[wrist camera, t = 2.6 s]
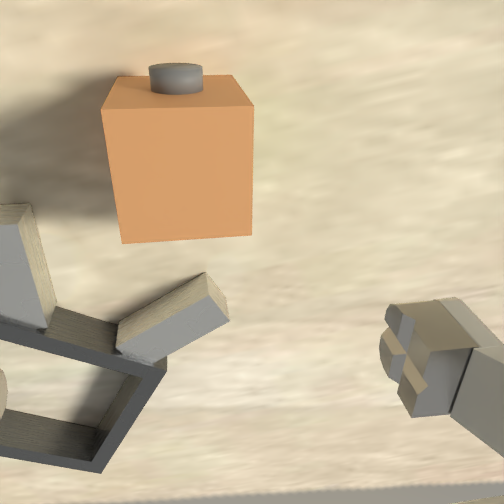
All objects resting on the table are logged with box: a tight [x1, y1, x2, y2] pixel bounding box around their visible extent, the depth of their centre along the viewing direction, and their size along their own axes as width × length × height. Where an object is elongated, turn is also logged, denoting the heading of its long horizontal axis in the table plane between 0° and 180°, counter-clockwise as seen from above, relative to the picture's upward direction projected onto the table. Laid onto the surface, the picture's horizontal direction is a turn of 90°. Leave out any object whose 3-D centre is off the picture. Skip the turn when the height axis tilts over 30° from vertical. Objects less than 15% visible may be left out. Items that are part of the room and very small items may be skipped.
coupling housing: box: [0, 203, 230, 474], centre depth 25 cm, size 13×16×2 cm
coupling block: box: [101, 63, 254, 244], centre depth 18 cm, size 5×7×6 cm
